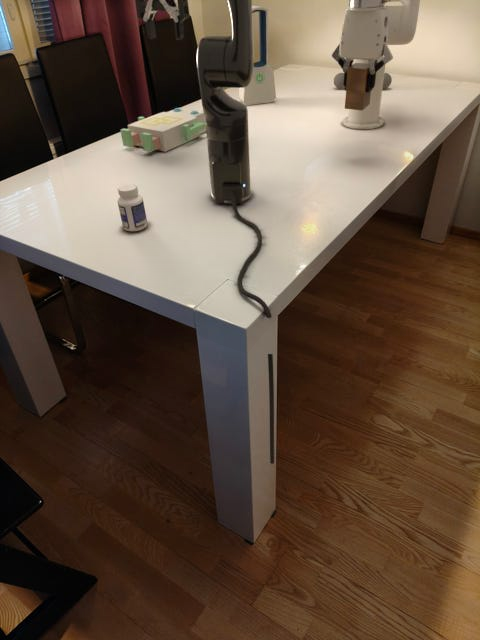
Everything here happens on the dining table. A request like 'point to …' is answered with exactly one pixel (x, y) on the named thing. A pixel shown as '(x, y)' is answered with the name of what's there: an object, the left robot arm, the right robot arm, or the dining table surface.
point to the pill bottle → (131, 208)
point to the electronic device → (260, 68)
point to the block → (357, 87)
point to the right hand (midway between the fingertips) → (358, 89)
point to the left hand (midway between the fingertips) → (165, 39)
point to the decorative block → (164, 130)
